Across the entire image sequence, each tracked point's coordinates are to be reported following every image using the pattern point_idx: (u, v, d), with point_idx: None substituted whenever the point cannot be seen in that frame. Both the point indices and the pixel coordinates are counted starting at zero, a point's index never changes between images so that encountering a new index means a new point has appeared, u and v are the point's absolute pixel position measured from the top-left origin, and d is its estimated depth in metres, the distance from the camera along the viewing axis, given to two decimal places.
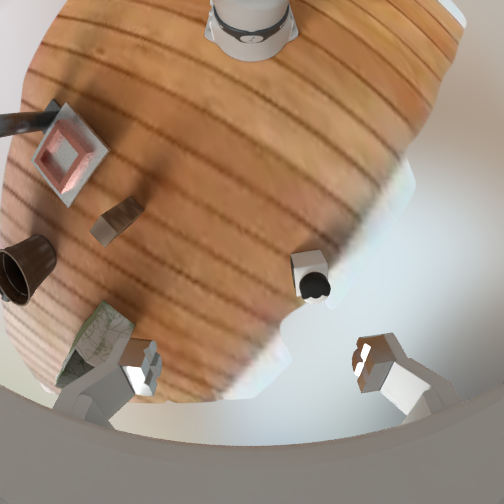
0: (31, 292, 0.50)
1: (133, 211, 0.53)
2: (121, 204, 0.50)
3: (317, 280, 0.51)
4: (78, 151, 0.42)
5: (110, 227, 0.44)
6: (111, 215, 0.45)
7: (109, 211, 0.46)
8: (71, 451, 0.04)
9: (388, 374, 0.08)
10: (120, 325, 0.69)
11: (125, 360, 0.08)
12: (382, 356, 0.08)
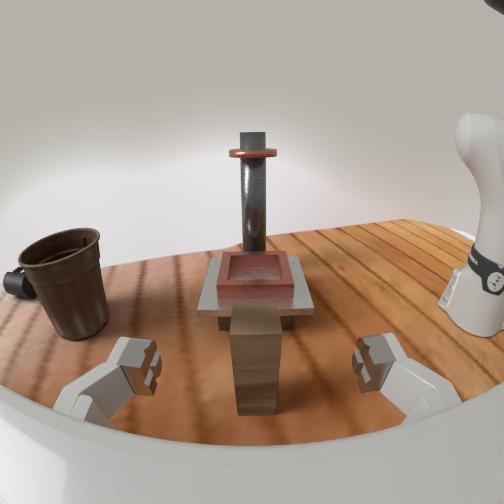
0: (43, 273, 0.31)
1: None
2: None
3: None
4: (285, 277, 0.41)
5: (278, 322, 0.24)
6: None
7: None
8: (71, 451, 0.04)
9: (388, 374, 0.08)
10: None
11: (125, 360, 0.08)
12: (382, 356, 0.08)
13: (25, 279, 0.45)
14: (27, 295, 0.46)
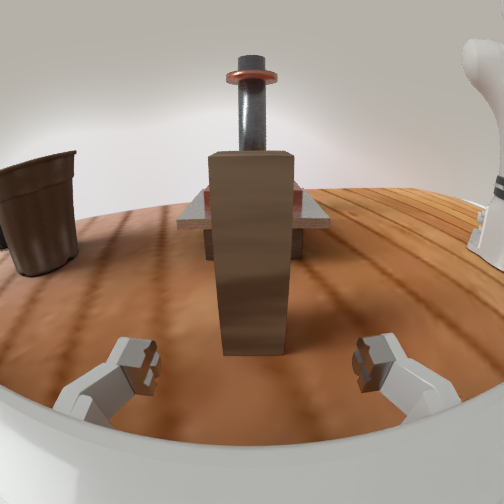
0: (5, 180, 0.22)
1: None
2: None
3: None
4: None
5: (287, 153, 0.15)
6: None
7: None
8: (71, 451, 0.04)
9: (388, 374, 0.08)
10: None
11: (125, 360, 0.08)
12: (382, 356, 0.08)
13: None
14: None
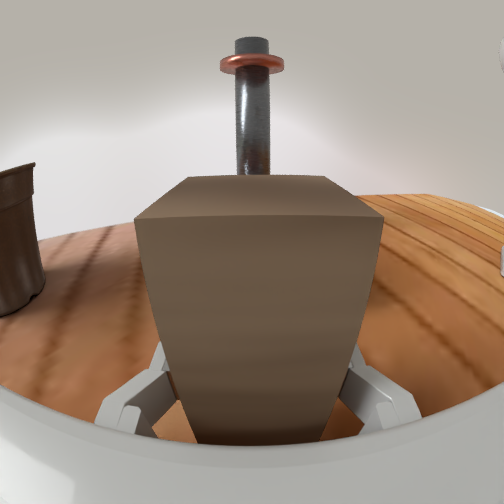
0: None
1: None
2: None
3: None
4: None
5: (349, 196, 0.06)
6: None
7: None
8: (71, 451, 0.04)
9: (345, 381, 0.08)
10: None
11: None
12: None
13: None
14: None
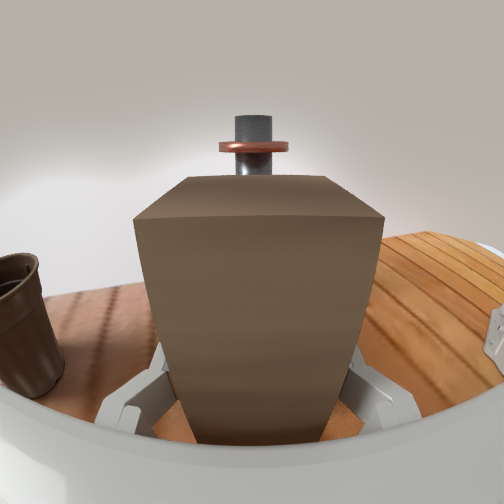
0: None
1: None
2: None
3: None
4: None
5: (349, 196, 0.06)
6: None
7: None
8: (71, 451, 0.04)
9: (345, 381, 0.08)
10: None
11: None
12: None
13: None
14: None
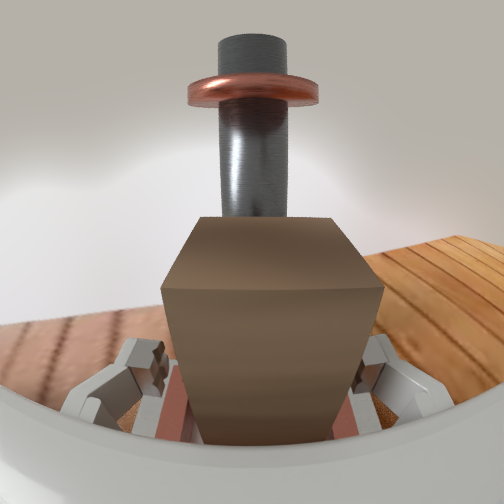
0: None
1: None
2: None
3: None
4: None
5: (354, 254, 0.06)
6: None
7: None
8: (71, 451, 0.04)
9: (380, 375, 0.08)
10: None
11: (134, 361, 0.08)
12: (374, 357, 0.08)
13: None
14: None
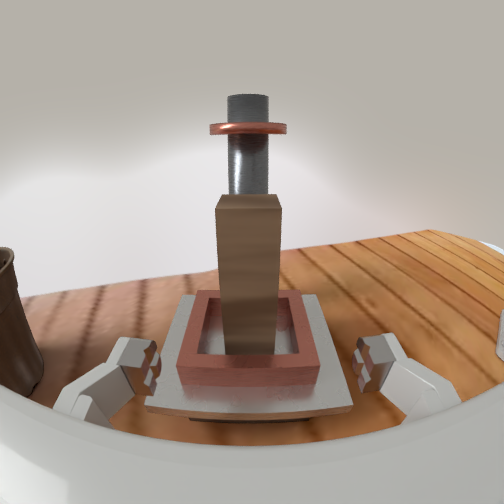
0: None
1: None
2: None
3: None
4: (303, 349, 0.21)
5: (277, 202, 0.20)
6: None
7: None
8: (71, 451, 0.04)
9: (388, 374, 0.08)
10: None
11: (125, 360, 0.08)
12: (382, 356, 0.08)
13: None
14: None
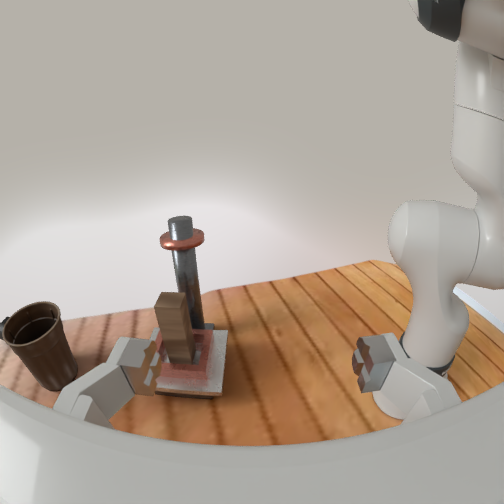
0: (21, 350, 0.35)
1: (190, 346, 0.47)
2: (191, 330, 0.49)
3: None
4: (200, 363, 0.45)
5: (180, 302, 0.43)
6: (186, 308, 0.46)
7: (187, 307, 0.47)
8: (71, 451, 0.04)
9: (388, 374, 0.08)
10: None
11: (125, 360, 0.08)
12: (382, 356, 0.08)
13: None
14: None
